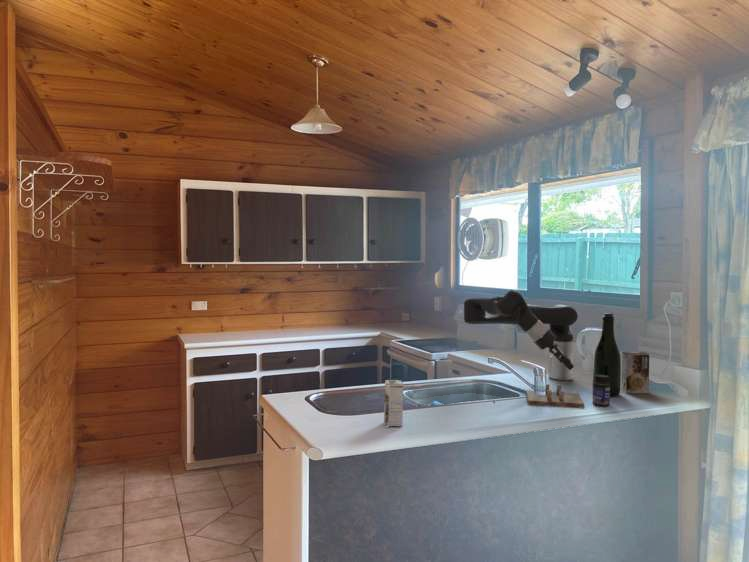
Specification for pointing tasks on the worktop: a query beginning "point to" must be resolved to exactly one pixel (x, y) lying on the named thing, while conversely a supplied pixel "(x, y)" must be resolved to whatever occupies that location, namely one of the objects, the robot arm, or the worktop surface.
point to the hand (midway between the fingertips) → (570, 365)
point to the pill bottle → (601, 391)
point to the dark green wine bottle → (608, 356)
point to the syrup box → (393, 403)
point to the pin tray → (555, 398)
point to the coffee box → (635, 372)
